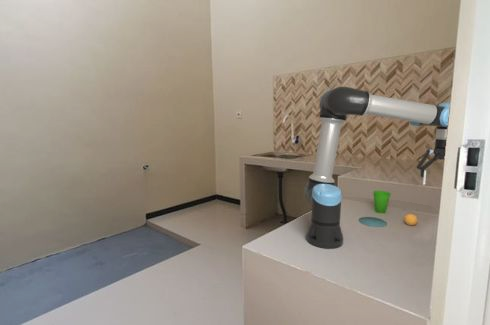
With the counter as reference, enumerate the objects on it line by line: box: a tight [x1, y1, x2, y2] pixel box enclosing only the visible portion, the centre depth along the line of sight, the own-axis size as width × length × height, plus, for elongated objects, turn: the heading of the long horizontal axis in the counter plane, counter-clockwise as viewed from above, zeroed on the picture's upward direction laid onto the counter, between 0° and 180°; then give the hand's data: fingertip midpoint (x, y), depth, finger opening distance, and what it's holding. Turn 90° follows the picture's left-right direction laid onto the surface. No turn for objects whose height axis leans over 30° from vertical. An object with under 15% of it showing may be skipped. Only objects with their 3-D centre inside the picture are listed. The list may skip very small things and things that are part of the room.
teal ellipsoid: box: [358, 216, 388, 228], centre depth 138 cm, size 13×13×1 cm
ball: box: [403, 213, 418, 226], centre depth 133 cm, size 6×6×6 cm
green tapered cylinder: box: [372, 190, 392, 214], centre depth 152 cm, size 9×9×11 cm
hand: (441, 185), depth 125 cm, fingers open, 13 cm apart
